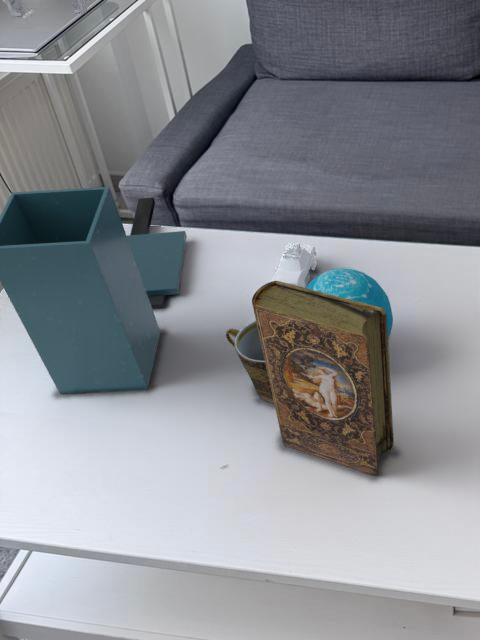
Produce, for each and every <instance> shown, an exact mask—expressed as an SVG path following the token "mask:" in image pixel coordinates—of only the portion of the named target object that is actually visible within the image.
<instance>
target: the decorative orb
mask: <svg viewBox="0 0 480 640" xmlns="http://www.w3.org/2000/svg"><path fill="white" fill-rule="evenodd" d="M305 288H307V289H311V290H315V291H319V292H322V293H326V294H330V295H334V296H338V297H342V298H346V299H350V300H353V301H357V302H361V303H365V304H369V305H373V306H377V307H381V308H383V309H384V310H385V311H386V314H387V326H388V341H389V339H390V336H391V334H392V329H393V323H394V316H393V310H392V305H391V301H390V299H389V296H388V294H387V293H386V291H385V290H384V288H383V287H382V286H381V285H380V284H379V282H377V280H375V278H373V277H372V276H370V275H368V274H367V273H365V272H362V271H360V270H357V269H353V268H346V267H345V268H344V267H343V268H342V267H341V268H333V269H330V270H327V271H324V272H323V273H321V274H319V275H318V276H317V275H316V277H314V278H313V279H312V280H311V281H310V282H308V283H307V285H306V287H305Z"/></svg>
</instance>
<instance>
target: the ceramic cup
mask: <svg viewBox="0 0 480 640" xmlns="http://www.w3.org/2000/svg"><path fill="white" fill-rule="evenodd" d="M230 335H231V336H233V337H234V340H233V338H232V337H231V336H230ZM225 337H226V340H227V341H228V342H229V343H230V345H231V346H233V347H234V350H235V351H236V354H237V356H238V358H239V361H240V363H241V364H242V367H243V368H244V370H245V372H246V373H247V375H248V376H249V378H250V379H249V380H250V381H251V383H252V385H253V387H254V389H255V391H256V393H257V395H258V397H259V398H260V400H262V401H264V402H268V403H270V404H273V405H274V400H273V396H272V391H271V387H270V382H269V378H268V373H267V369H266V364H265V359H264V355H263V350H262V346H261V341H260V337H259V332H258V327H257V323H256V320H255V321H252V322H250V323H248V324H246V325H245V326H243V327H242V328H241V329H240V330H239V329H236V328H230V329H228V330H227V331H226V332H225Z"/></svg>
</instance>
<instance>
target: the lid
mask: <svg viewBox="0 0 480 640" xmlns="http://www.w3.org/2000/svg"><path fill="white" fill-rule="evenodd" d="M155 205H156V201H155V198H154V197H142V198H141V197H140V198H138V200H137V204H136V209H135V213H134V218H133V222H132V226H131V230H130V234H128V235H127V234H126V236H127V238H128V241H129V244H130V247H131V250H132V253H133V255H134V258H135V261H136V264H137V267H138V270H139V272H140V275H141V278H142V281H143V284H144V287H145V290H146V292H147V295H148V296H159V295H166V296H169V295H170V296H171V295H178V294H179V289H180V283H181V277H182V276H181V275H182V271H183V263H184V257H185V250H186V244H187V238H188V235H187V231H186V230H179V231H178V230H177V231H166V232H154V233H150V230H151V225H152V220H153V215H154V210H155Z"/></svg>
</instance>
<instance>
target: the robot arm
mask: <svg viewBox="0 0 480 640" xmlns="http://www.w3.org/2000/svg"><path fill="white" fill-rule="evenodd" d="M1 1H2V2H3V3H4V4H5V5H7V9H8V11H9V13H10V16H11V17H12V18H22V17H24V16H25V9H24V7H23V4H22V1H21V0H1ZM70 2H71V6H72V7H73V12H74V13H75V14H87V11H88V7H87V4H86V1H85V0H70Z"/></svg>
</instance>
